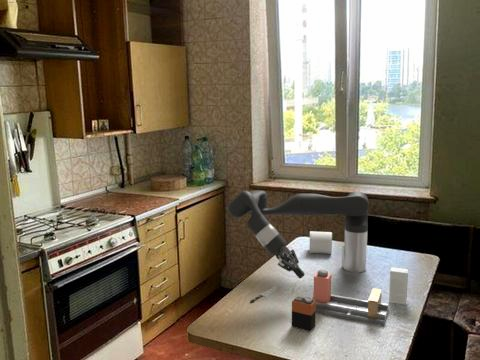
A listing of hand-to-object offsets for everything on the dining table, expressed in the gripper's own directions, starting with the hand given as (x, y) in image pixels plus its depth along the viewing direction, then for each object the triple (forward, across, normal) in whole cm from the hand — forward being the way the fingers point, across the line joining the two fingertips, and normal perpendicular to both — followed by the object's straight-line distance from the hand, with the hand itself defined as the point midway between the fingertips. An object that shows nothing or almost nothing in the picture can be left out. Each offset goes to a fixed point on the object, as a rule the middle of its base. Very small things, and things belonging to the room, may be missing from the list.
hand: (302, 276), depth 166 cm
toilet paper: (+2, -54, -12) cm, 56 cm away
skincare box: (+29, -15, +15) cm, 36 cm away
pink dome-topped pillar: (+11, 0, -1) cm, 11 cm away
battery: (+11, +16, -3) cm, 20 cm away
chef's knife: (-2, -2, -18) cm, 18 cm away
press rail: (+18, 0, +5) cm, 19 cm away
